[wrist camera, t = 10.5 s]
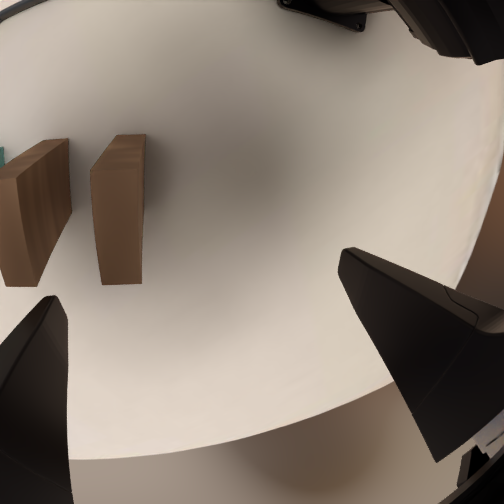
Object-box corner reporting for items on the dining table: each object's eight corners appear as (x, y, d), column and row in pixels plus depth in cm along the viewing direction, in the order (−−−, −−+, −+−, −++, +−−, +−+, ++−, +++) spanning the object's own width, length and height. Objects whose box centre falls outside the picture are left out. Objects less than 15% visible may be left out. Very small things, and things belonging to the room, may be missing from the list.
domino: (68, 138, 15) (15, 177, 8) (71, 212, 17) (37, 286, 11) (43, 140, 14) (-19, 182, 8) (48, 213, 17) (5, 286, 10)
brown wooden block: (145, 134, 16) (138, 169, 10) (143, 209, 19) (141, 283, 12) (116, 135, 16) (90, 170, 9) (117, 210, 18) (102, 285, 12)
